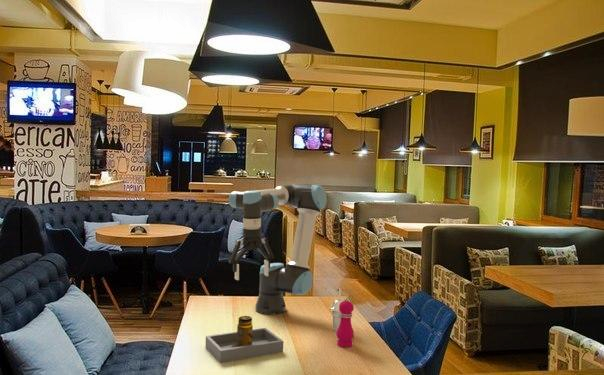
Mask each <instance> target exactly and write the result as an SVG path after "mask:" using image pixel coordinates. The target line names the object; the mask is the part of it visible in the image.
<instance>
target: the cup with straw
mask: <svg viewBox="0 0 604 375" xmlns="http://www.w3.org/2000/svg"><path fill="white" fill-rule="evenodd" d="M337 291H338V299H336V300H334V301H333V302H332V303H331V305H330V307H329V310H330V311H331V315H332V327H333V331H334V332H336V333H337V329H338V327H339V325H340V322H341V316H340V312H341V311H340V310H339V305H340V303H341V302H342V301H344V300H343V299H341V296H342V295H341V292H342V290H341V288H340V287H339V288H338V289H337Z"/></svg>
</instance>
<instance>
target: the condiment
mask: <svg viewBox="0 0 604 375" xmlns="http://www.w3.org/2000/svg"><path fill="white" fill-rule="evenodd" d="M236 326H237V328H236V329H237V330H236V332H237V344H235V345H229V347H230V348H234V347H241V346H247V345H252V332H253V329H254V326H253V317H251V316H249V315H241V316H239V317H238V323H237V325H236Z"/></svg>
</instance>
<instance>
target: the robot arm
mask: <svg viewBox="0 0 604 375" xmlns="http://www.w3.org/2000/svg"><path fill="white" fill-rule="evenodd" d="M228 203H229V206H230V207H231V208H233V209H242V210H243V211H242V213H243V214H242V217H243V218H242V227H243V228H242V240H239V239H236V240H235V244H234V247H233V250H232V252H231V254H230V256H229V258H228V263H229V264H230V265H231V264H232V272H234V280H236V281H240V264H239V262H240V261H241V259H242V258H243V256H244V255H245V254H246V253H247V252H248V251H253V250H254V251H256V250H258V251H259V253H260V254H261V255H262V256H263V257H264V260H263V263H264V264H263V265H261V266H260V270H259V288H258V289H259V294H258V297H257V300H256V301H255V302H256V303H255V311H256V312H257V313H260V314H264V315H279V314H282V313H285V312H287V311H286V310H287V308H286V307H287V304H286V301H285V298H284V294H283V293H286V294H293V295H295V296H296V295H298V296H299V295H300V296H304V295H306V294H307V293H308V292H309V291H310V289H311V288H312V285H313V280H314V277H313V273H312V272H311V271H310V270H311V267H310V266H309V264H308V262H309V258H310V254H311V248H312V247H311V246H312V243H313V242H312V241H313V236H314V231H315V226H316V220H317V217H318V216H320V214H321V210H324V209H325V208H326V207H327V204H328V197H327V193H326V190H325V188H324V187H323V186H322V185H317V184H304V183H303V184H302V183H291V184H284V185H279V186H276V187H275V188H267V189H260V190H245V191H239V190H237V191H236V190H235V191H232V192H230V194H229V196H228ZM278 206H289V207H296V210H297V212H298V218H297V225H296V229H295V232H294V233H295V234H294V238H293V244H292V250H291V255H290V260H289V261H288V262H287V263H286V264H285V265H286V266H285V265H284V263H282V262H273V263H271V261H272V260H273V259H275V256H274V253H273V250H272V249H271V246H270V244H269V239H268V238H267V237H264V236H263V238H262V228H261V227H262V213H263V212H272V211H273V210H275V209H277V208H278ZM261 244H263V246H264V248H265V250H266V251H265V250H264V249H263V247H262V246H261ZM241 246H242V247H241ZM240 248H241V249H240ZM239 250H240V251H239Z"/></svg>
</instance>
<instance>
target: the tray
mask: <svg viewBox="0 0 604 375" xmlns="http://www.w3.org/2000/svg"><path fill="white" fill-rule="evenodd" d="M235 344H237V331H232V332H227V333H219V334H218V333H217V334H212V335H210V334H209V335H205V348H206V349H207V350H208V352H209V353H210V354H211V355H212V356H213V357H214V358H215V359H216V360H217V362H219V364H221V363H227V362H233V361H239V360H246V359H251V358H257V357H263V356H268V355H270V356H271V355H275V354H281V353H284V340H282V339H281V338H280V337H279V336H277V335H276V334H274V333H273V332H272V331H271V330H269V329H268V328H267V327H260V328H253V332H252V345H247V346H241V347H234V348H230V347H229V345H235Z"/></svg>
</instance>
